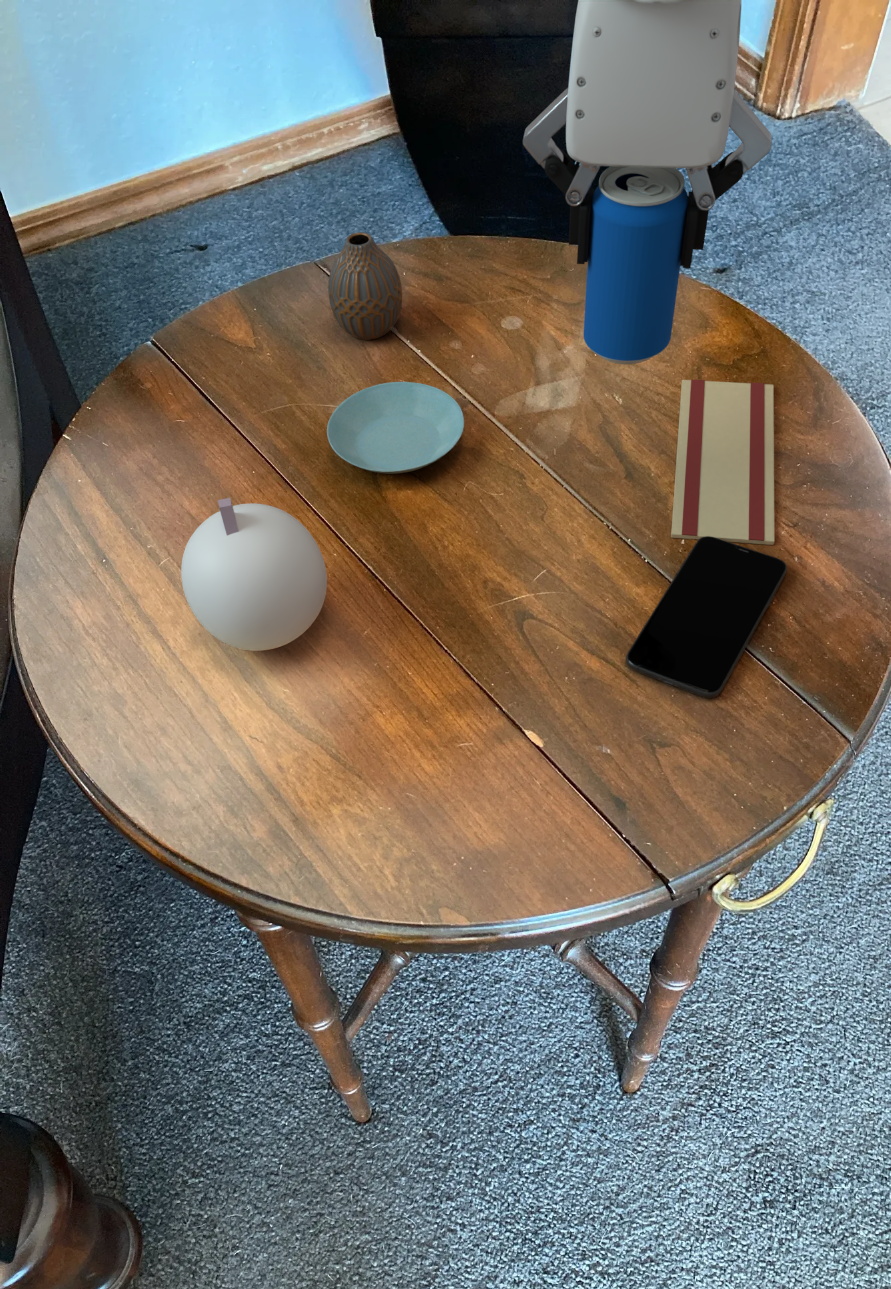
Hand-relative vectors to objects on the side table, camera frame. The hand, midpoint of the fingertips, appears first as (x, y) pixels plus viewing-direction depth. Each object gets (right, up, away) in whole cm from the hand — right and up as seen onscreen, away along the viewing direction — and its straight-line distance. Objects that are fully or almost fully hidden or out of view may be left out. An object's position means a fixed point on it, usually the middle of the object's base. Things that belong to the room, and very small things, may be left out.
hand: (634, 253), depth 75 cm
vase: (-21, +7, +29) cm, 36 cm away
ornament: (-27, -25, +8) cm, 38 cm away
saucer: (-17, -7, +19) cm, 27 cm away
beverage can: (0, -4, +6) cm, 7 cm away
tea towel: (+10, -9, +16) cm, 21 cm away
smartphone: (+6, -25, +6) cm, 26 cm away
